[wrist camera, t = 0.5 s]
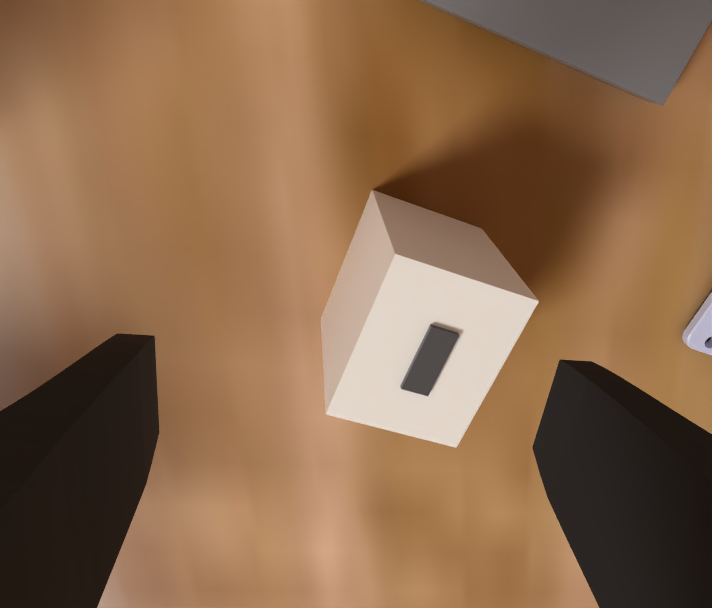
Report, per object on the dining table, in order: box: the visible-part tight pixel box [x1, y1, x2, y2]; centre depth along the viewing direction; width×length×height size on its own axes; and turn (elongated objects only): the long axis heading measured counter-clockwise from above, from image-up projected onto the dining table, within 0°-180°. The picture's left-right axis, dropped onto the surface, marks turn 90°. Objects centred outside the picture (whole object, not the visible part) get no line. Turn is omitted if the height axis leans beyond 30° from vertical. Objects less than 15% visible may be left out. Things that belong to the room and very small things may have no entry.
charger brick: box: [321, 190, 539, 447], centre depth 18 cm, size 4×5×6 cm
